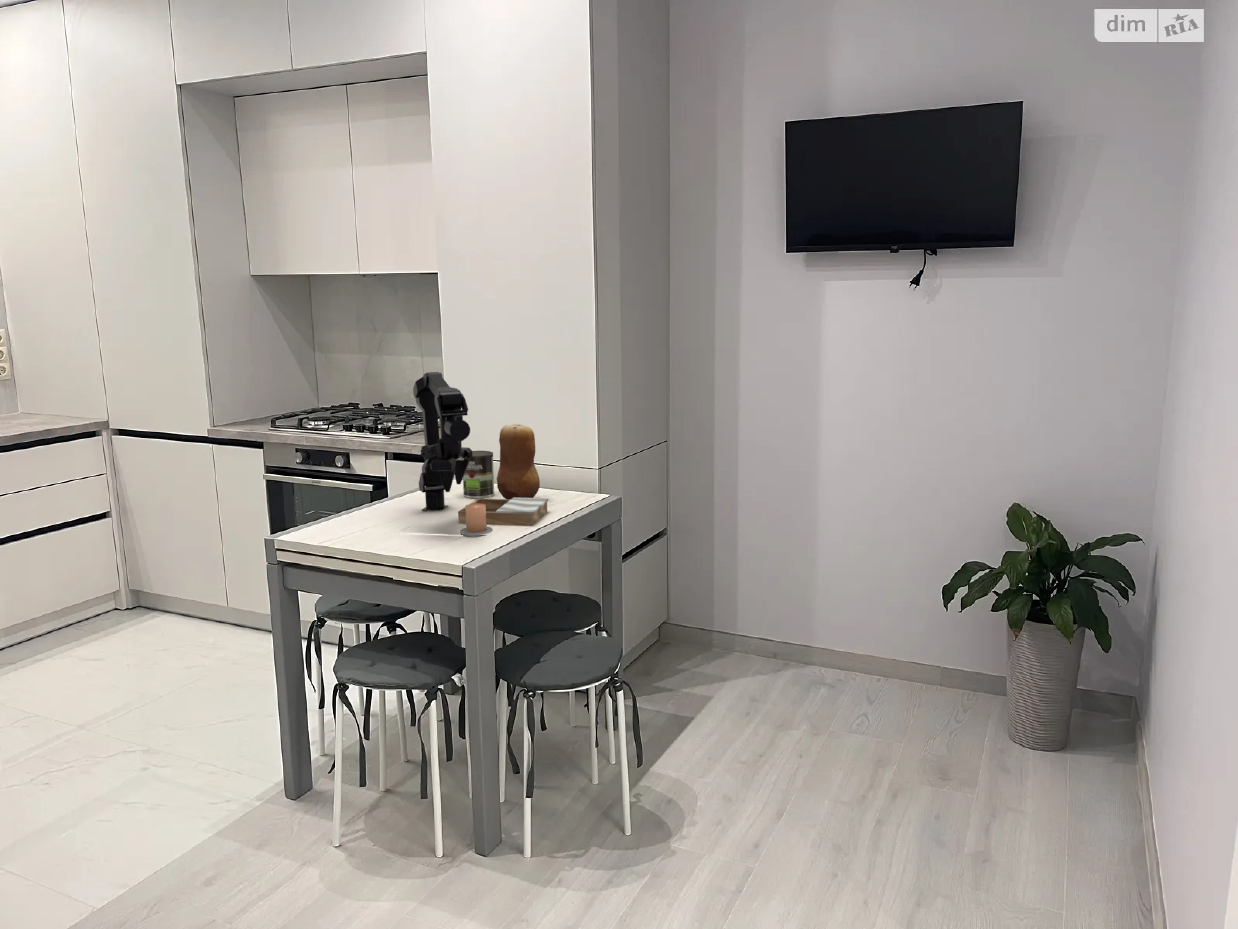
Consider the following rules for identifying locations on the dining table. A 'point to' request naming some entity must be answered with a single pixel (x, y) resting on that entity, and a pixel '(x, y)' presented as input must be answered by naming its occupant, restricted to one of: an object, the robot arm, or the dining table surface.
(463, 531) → the saucer
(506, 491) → the butternut squash
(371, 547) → the dining table surface
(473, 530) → the tan cylinder
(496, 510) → the box
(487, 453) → the coffee can
